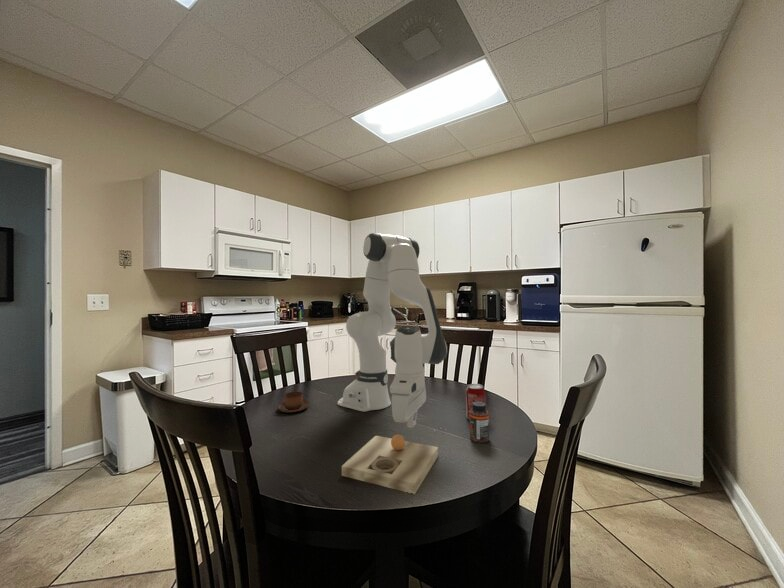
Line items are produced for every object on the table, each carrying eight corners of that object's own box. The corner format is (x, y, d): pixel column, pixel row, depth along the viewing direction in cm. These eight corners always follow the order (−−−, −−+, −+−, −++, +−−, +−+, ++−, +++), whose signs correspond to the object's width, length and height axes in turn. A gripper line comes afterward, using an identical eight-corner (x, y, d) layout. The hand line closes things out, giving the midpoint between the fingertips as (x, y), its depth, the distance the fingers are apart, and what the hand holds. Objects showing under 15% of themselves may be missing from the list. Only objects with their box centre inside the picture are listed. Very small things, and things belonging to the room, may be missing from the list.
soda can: (486, 423, 115) (485, 389, 115) (466, 421, 117) (466, 388, 116) (484, 415, 122) (484, 383, 122) (466, 414, 123) (465, 382, 123)
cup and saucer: (271, 412, 130) (271, 397, 130) (291, 403, 141) (291, 388, 141) (296, 416, 125) (295, 400, 125) (314, 406, 136) (314, 391, 136)
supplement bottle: (467, 435, 106) (466, 400, 106) (485, 434, 106) (484, 399, 106) (473, 444, 100) (472, 407, 100) (492, 442, 100) (491, 406, 100)
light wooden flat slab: (341, 475, 84) (341, 465, 84) (375, 443, 101) (375, 435, 101) (414, 494, 76) (414, 483, 76) (438, 455, 93) (438, 447, 93)
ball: (388, 451, 91) (388, 437, 91) (394, 445, 95) (394, 431, 95) (401, 454, 90) (401, 439, 89) (407, 447, 93) (407, 433, 93)
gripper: (411, 371, 110) (413, 413, 110) (387, 388, 91) (388, 438, 91) (429, 373, 108) (431, 415, 107) (408, 390, 89) (410, 441, 89)
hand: (411, 426), depth 99 cm, fingers closed
